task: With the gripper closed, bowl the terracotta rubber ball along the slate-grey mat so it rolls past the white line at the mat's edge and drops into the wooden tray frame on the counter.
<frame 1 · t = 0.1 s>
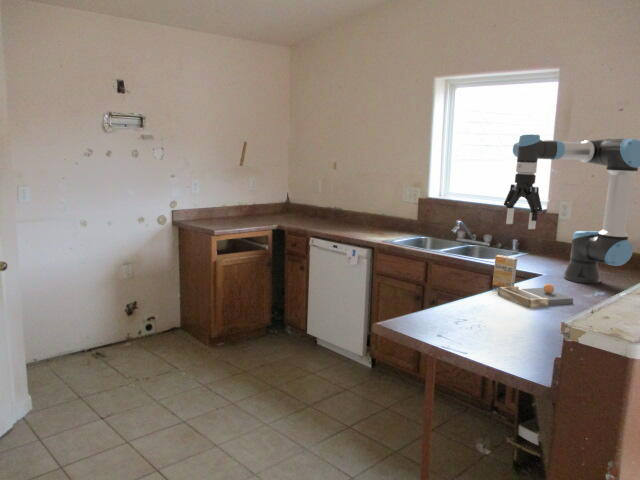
hand: (520, 226, 213), 28 cm above the worktop, fingers open, 13 cm apart
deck: (544, 298, 211), on the worktop
wooden tray frame: (522, 300, 208), on the worktop
supplement box: (503, 286, 229), on the worktop
ball: (548, 293, 212), point 2 cm above the worktop, touching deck
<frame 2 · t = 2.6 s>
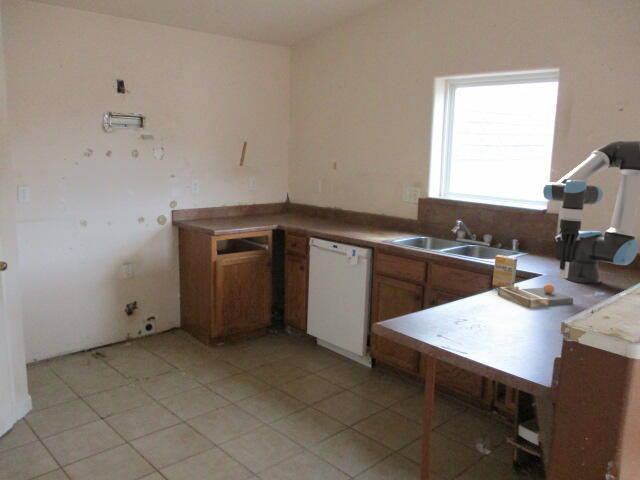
hand: (563, 277, 212), 8 cm above the worktop, fingers closed
nothing on the worktop moved.
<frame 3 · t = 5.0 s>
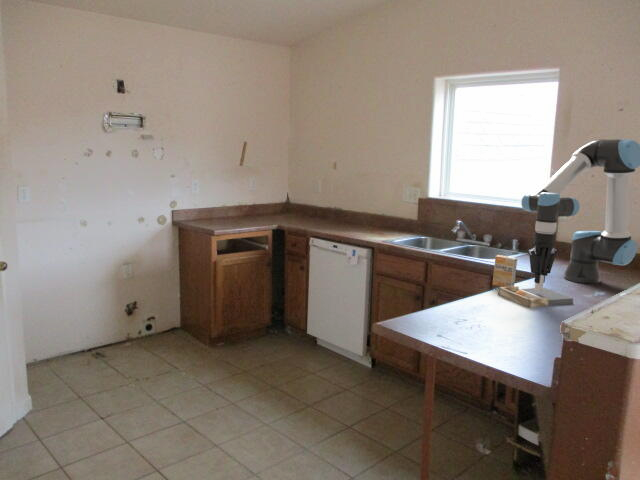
hand: (538, 290, 210), 3 cm above the worktop, fingers closed
ball: (522, 298, 208), point 1 cm above the worktop, tilted 45°
everything else where it was.
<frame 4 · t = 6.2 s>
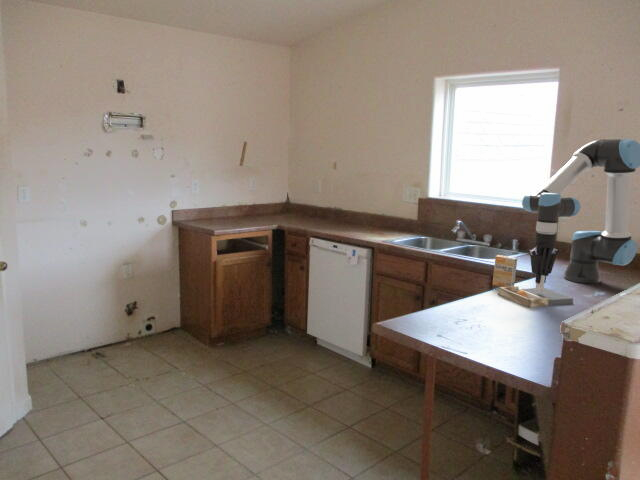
hand: (539, 290, 210), 3 cm above the worktop, fingers closed
ball: (523, 299, 208), on the worktop, tilted 22°
everything else where it was.
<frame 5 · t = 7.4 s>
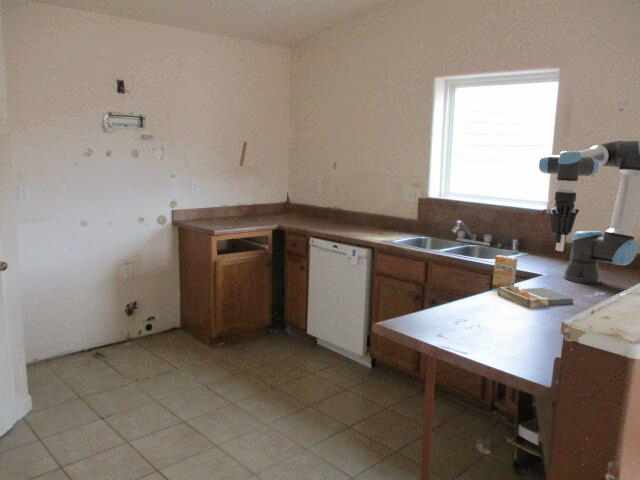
hand: (559, 250, 210), 19 cm above the worktop, fingers closed
ball: (523, 300, 208), on the worktop
everything else where it was.
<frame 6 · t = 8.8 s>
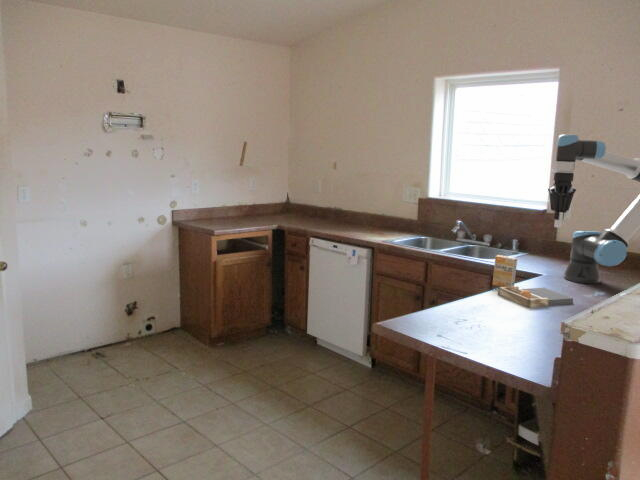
hand: (557, 227, 226), 26 cm above the worktop, fingers closed
ball: (523, 299, 208), on the worktop, tilted 27°
everything else where it was.
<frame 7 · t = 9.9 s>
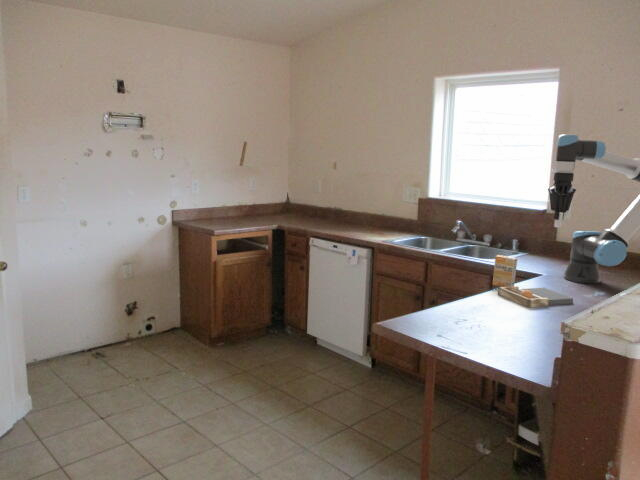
hand: (557, 227, 226), 26 cm above the worktop, fingers closed
ball: (523, 298, 208), point 1 cm above the worktop, tilted 48°
everything else where it was.
at the end: ball inside the target area (1.3 cm from its centre), point 0.6 cm above the worktop; ball moved 12.1 cm from its start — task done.
